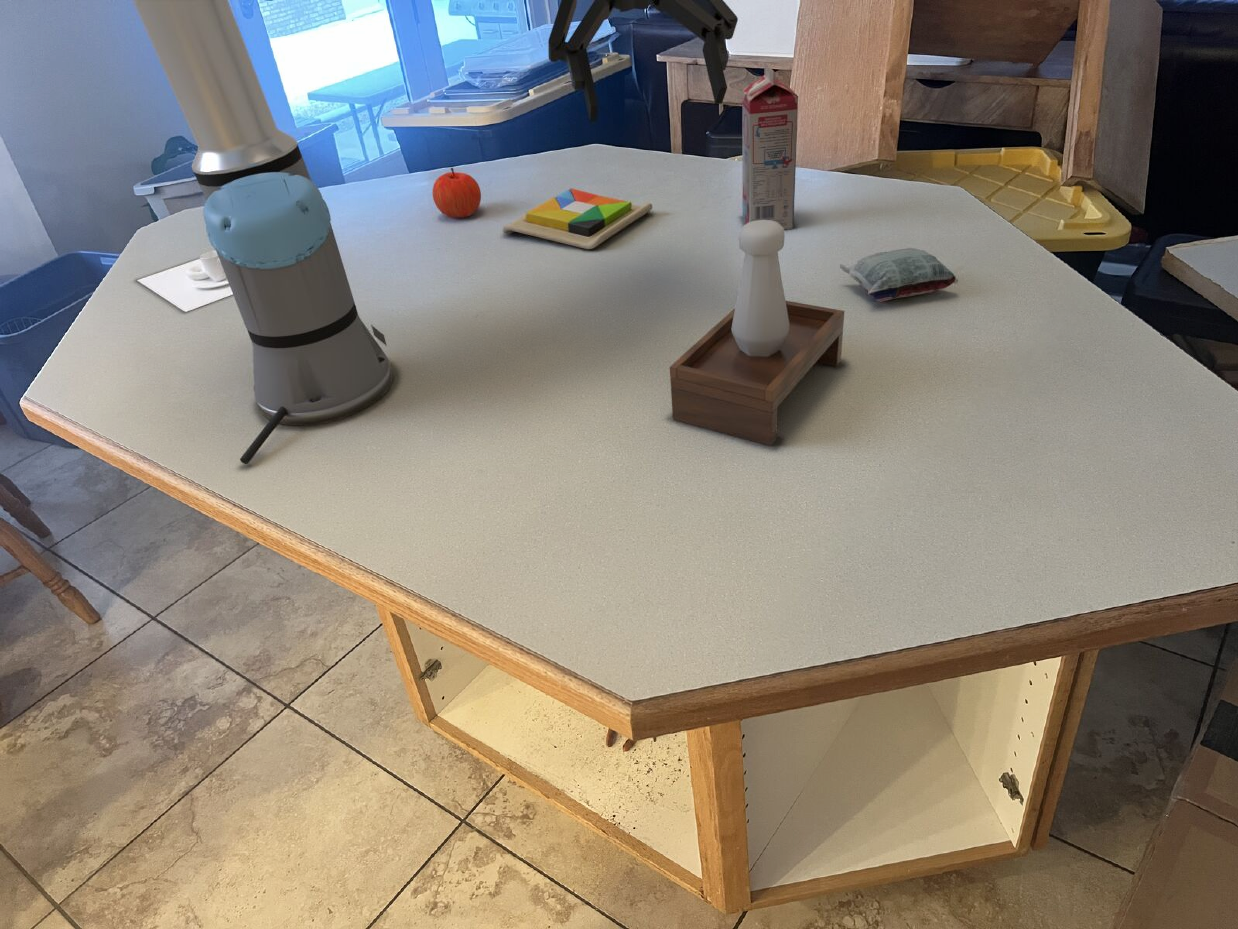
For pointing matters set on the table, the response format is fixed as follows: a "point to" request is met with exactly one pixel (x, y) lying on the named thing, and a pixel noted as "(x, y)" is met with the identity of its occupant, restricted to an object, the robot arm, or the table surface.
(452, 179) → the apple
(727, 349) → the spice rack
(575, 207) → the wooden puzzle
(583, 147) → the table surface
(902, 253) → the packaged food
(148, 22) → the robot arm
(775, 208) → the juice carton
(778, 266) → the salt shaker
